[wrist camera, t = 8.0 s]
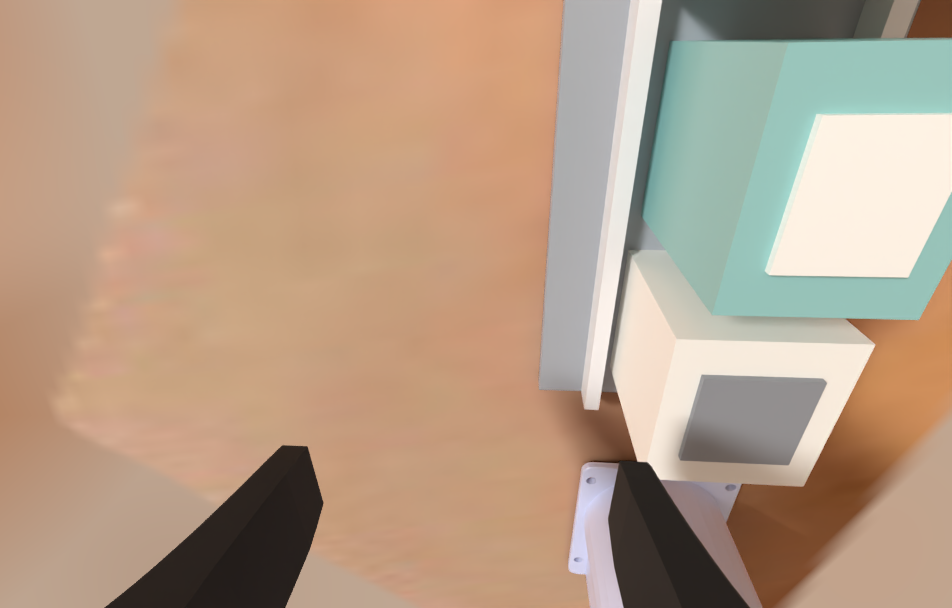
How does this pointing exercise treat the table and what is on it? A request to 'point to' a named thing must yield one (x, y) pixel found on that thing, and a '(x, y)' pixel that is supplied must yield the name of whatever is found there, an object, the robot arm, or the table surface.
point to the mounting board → (593, 133)
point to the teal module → (806, 174)
